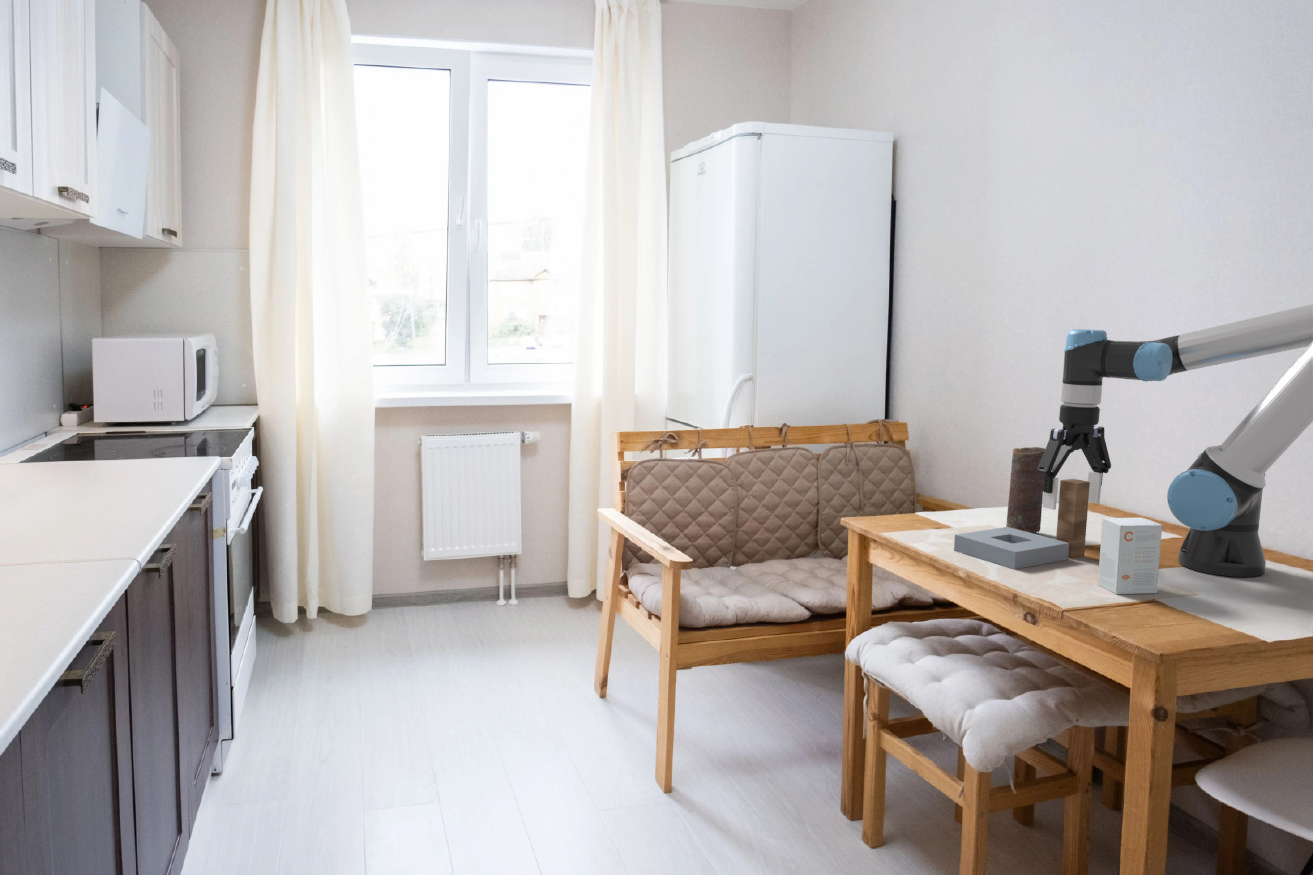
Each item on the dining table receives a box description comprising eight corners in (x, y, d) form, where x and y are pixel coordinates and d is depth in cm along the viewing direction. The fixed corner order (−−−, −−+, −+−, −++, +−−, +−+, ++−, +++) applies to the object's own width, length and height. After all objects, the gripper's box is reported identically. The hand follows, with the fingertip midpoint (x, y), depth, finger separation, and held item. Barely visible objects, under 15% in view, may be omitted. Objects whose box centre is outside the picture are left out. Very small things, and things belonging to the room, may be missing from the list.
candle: (1045, 537, 214) (1051, 450, 211) (1012, 537, 214) (1018, 450, 211) (1032, 529, 221) (1038, 445, 219) (1001, 529, 222) (1006, 445, 219)
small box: (1136, 583, 179) (1142, 516, 177) (1157, 594, 172) (1163, 524, 171) (1096, 584, 178) (1101, 517, 176) (1115, 595, 172) (1121, 525, 170)
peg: (1084, 556, 198) (1089, 481, 196) (1071, 558, 196) (1076, 483, 194) (1067, 552, 201) (1073, 478, 199) (1055, 554, 200) (1060, 480, 197)
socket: (1068, 559, 196) (1069, 543, 195) (1014, 569, 188) (1015, 552, 187) (1006, 542, 209) (1007, 526, 209) (953, 550, 202) (954, 534, 201)
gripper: (1103, 400, 203) (1094, 496, 207) (1023, 404, 192) (1015, 506, 195) (1135, 404, 197) (1125, 503, 200) (1054, 409, 185) (1045, 514, 188)
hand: (1071, 505), depth 197 cm, fingers open, 13 cm apart
